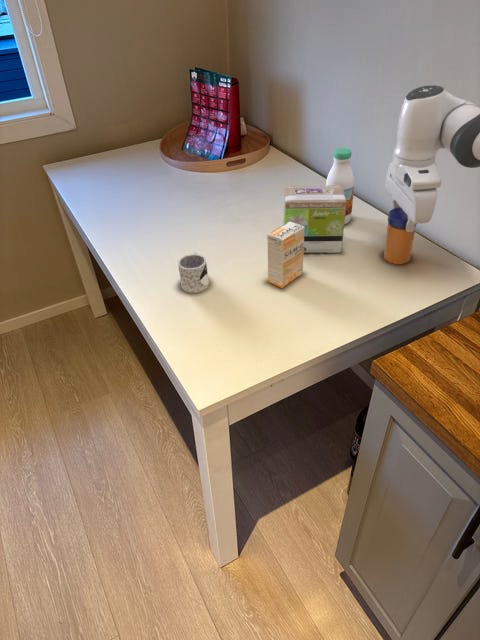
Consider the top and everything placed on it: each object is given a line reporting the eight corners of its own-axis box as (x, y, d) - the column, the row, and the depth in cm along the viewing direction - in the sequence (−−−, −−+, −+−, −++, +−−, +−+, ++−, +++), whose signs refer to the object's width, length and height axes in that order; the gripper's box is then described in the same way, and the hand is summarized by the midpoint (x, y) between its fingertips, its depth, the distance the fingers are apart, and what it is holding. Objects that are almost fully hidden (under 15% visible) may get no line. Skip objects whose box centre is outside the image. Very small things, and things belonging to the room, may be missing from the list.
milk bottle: (332, 228, 136) (337, 157, 124) (319, 217, 142) (322, 148, 129) (356, 222, 138) (363, 152, 125) (342, 211, 144) (347, 143, 131)
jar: (407, 250, 125) (414, 210, 118) (412, 263, 120) (420, 222, 113) (381, 251, 125) (387, 210, 118) (385, 264, 120) (391, 223, 113)
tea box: (283, 254, 126) (284, 202, 117) (283, 235, 134) (283, 185, 125) (342, 253, 125) (347, 200, 116) (338, 234, 133) (342, 183, 124)
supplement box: (282, 289, 114) (283, 240, 106) (267, 282, 117) (266, 234, 109) (304, 274, 119) (305, 226, 111) (288, 267, 121) (289, 220, 113)
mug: (207, 292, 115) (205, 268, 111) (180, 293, 115) (176, 269, 111) (210, 269, 123) (208, 246, 119) (184, 270, 123) (181, 247, 119)
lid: (390, 228, 114) (391, 220, 113) (385, 215, 119) (386, 207, 118) (420, 228, 113) (421, 220, 112) (413, 214, 119) (415, 207, 117)
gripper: (382, 151, 116) (375, 205, 124) (416, 186, 100) (405, 244, 108) (408, 149, 116) (399, 202, 125) (445, 183, 100) (432, 242, 109)
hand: (402, 222), depth 116 cm, fingers closed on lid, 6 cm apart
